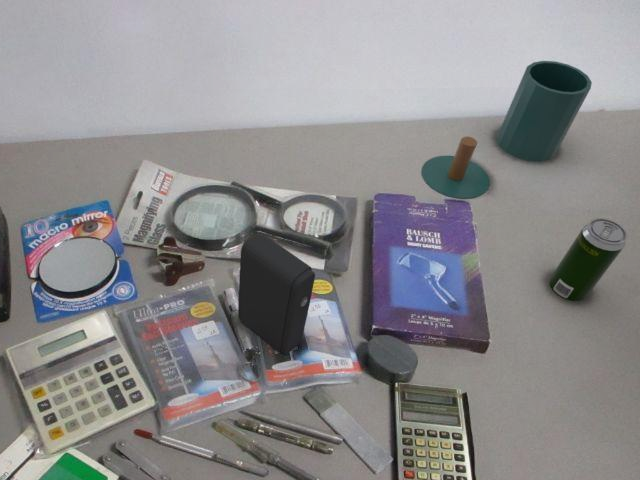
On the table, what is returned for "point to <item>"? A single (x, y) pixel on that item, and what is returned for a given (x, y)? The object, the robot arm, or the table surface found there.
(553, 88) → the tin
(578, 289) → the beer can
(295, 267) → the black rectangular block
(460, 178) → the tin lid
